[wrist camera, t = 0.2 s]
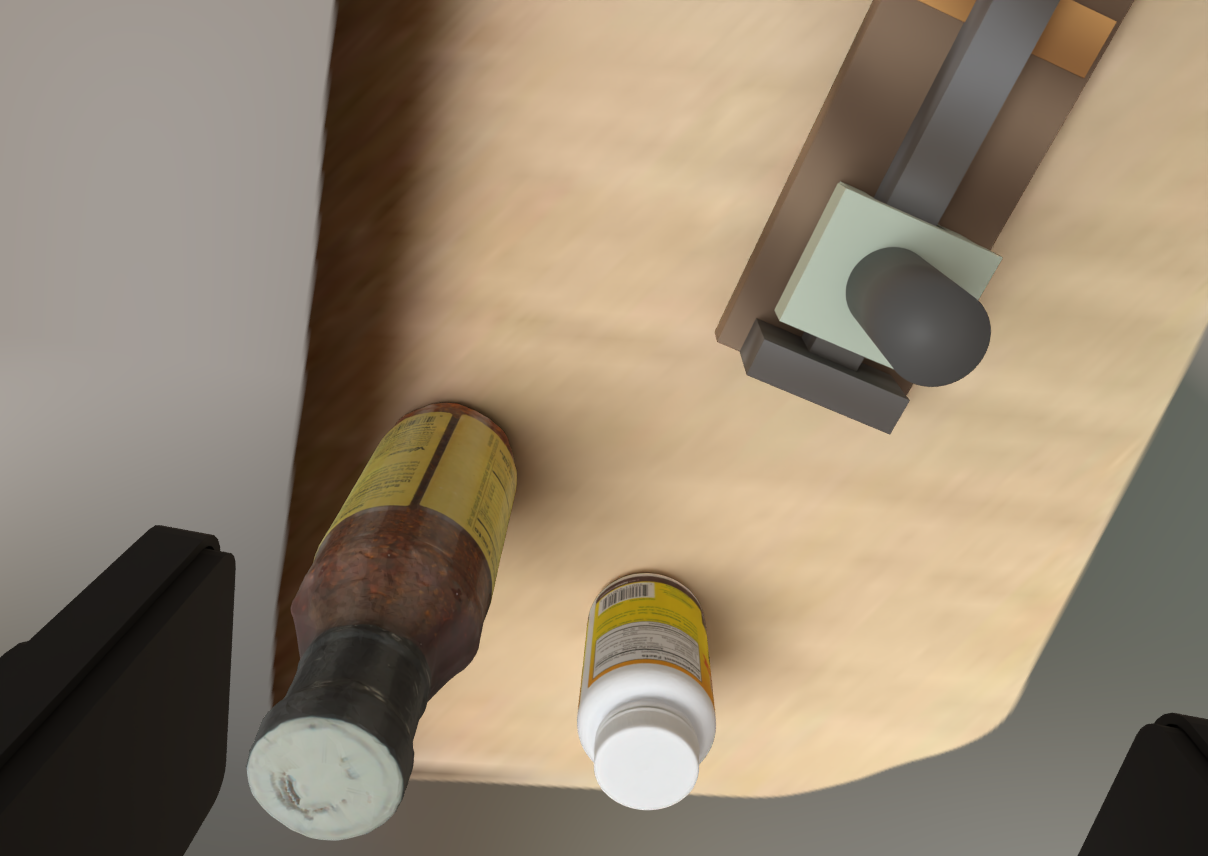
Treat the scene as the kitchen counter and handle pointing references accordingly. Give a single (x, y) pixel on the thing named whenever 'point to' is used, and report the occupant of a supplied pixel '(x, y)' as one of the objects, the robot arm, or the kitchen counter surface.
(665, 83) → the kitchen counter surface
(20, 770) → the robot arm
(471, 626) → the sauce bottle
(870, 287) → the carriage
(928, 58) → the rail base
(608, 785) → the supplement bottle
